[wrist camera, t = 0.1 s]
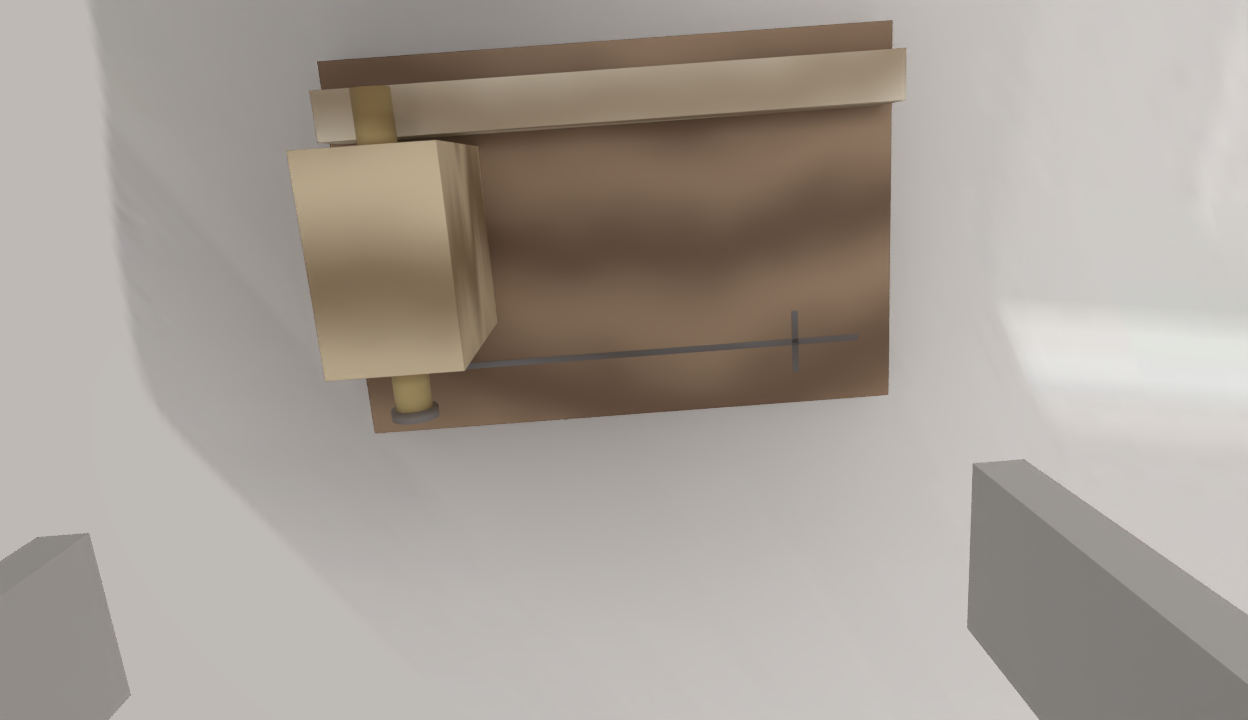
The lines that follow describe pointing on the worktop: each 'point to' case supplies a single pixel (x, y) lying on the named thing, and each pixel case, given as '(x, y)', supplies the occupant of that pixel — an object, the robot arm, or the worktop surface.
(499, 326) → the walnut board
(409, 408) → the marking gauge
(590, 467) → the worktop surface
